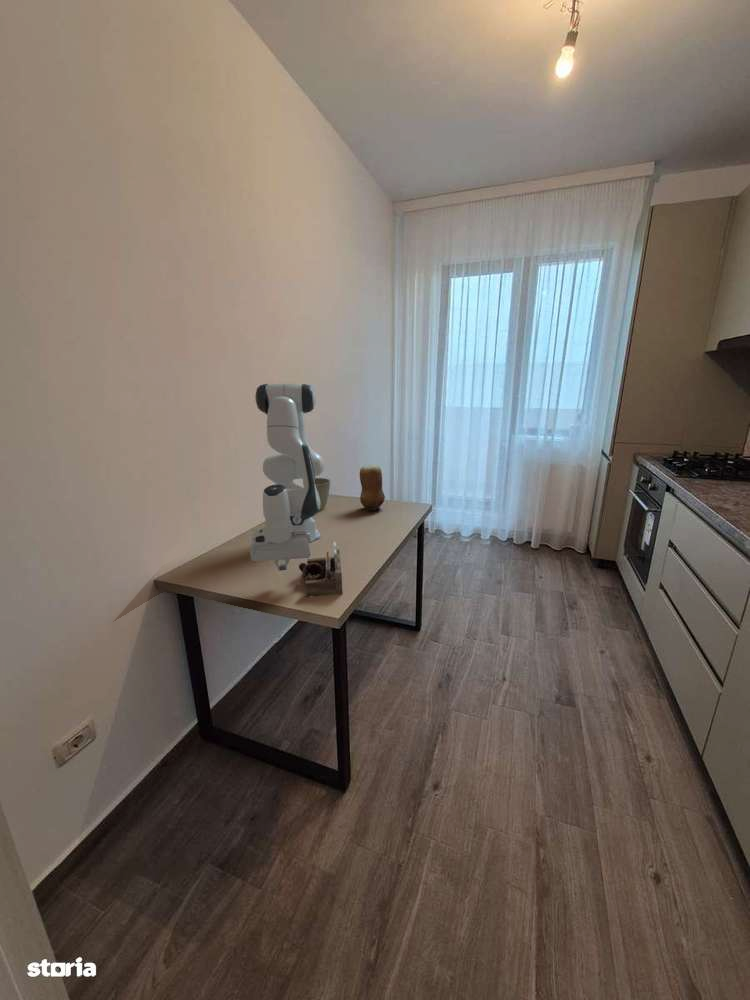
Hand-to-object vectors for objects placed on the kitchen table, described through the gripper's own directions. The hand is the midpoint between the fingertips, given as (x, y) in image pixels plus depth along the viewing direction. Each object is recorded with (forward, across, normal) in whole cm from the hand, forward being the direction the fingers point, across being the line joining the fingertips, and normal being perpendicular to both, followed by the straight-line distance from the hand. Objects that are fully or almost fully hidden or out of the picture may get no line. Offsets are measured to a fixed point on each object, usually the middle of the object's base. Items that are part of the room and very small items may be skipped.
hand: (282, 569), depth 139 cm
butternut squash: (+7, -40, -78) cm, 88 cm away
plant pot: (+8, -11, -85) cm, 86 cm away
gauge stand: (+6, -15, 0) cm, 16 cm away
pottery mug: (+6, -10, -1) cm, 12 cm away
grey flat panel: (+6, -17, 0) cm, 18 cm away
